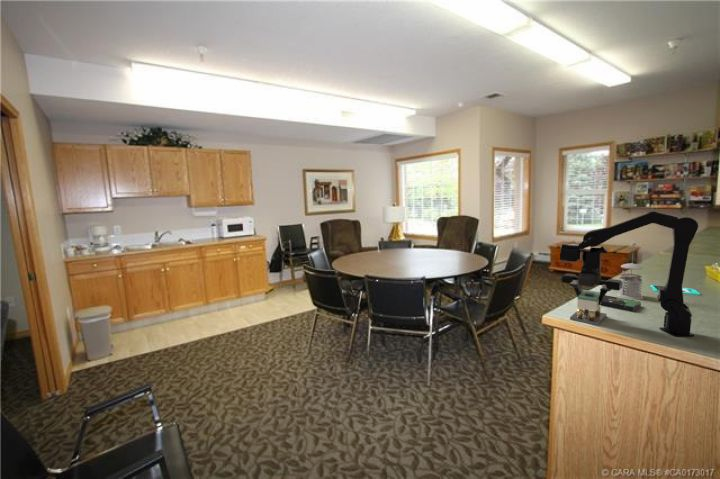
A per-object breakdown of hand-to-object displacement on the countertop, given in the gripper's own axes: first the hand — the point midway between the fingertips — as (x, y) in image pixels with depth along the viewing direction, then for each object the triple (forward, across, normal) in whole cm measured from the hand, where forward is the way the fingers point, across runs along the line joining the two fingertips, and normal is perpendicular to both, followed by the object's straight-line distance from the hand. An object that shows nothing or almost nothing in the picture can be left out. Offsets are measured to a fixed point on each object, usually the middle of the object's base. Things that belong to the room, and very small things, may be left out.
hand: (589, 303), depth 129 cm
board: (+1, 0, 0) cm, 1 cm away
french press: (+6, +6, +42) cm, 43 cm away
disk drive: (+7, +4, +24) cm, 25 cm away
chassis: (+6, 0, 0) cm, 6 cm away
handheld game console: (+7, +19, +66) cm, 69 cm away
